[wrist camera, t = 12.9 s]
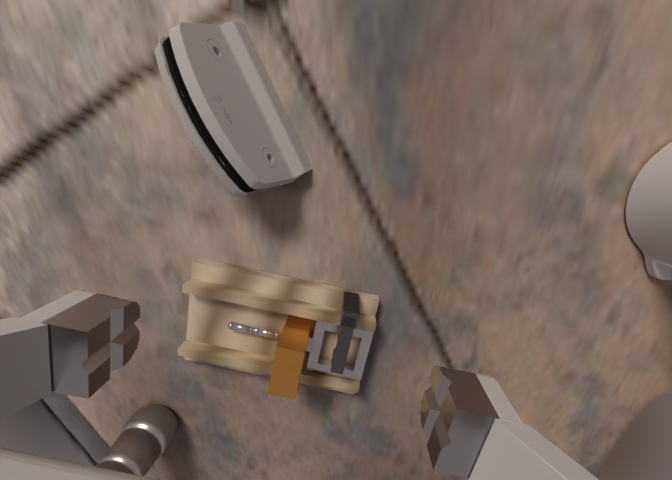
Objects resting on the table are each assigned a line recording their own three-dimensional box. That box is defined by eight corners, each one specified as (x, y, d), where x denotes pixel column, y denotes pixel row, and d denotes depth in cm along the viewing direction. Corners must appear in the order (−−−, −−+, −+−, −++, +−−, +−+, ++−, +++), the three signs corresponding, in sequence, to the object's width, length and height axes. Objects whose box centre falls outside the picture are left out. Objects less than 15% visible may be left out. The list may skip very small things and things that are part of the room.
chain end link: (373, 326, 39) (377, 363, 32) (360, 374, 41) (361, 418, 34) (232, 296, 39) (207, 327, 32) (226, 346, 41) (201, 384, 34)
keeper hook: (359, 293, 38) (359, 314, 33) (345, 350, 40) (344, 377, 36) (344, 290, 38) (343, 310, 33) (331, 347, 40) (328, 373, 36)
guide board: (378, 295, 40) (380, 309, 36) (354, 386, 44) (354, 406, 40) (198, 258, 40) (183, 268, 36) (190, 352, 44) (176, 369, 40)
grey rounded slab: (314, 172, 36) (265, 196, 28) (282, 187, 38) (229, 213, 30) (241, 19, 32) (160, -8, 24) (211, 46, 34) (127, 30, 26)
